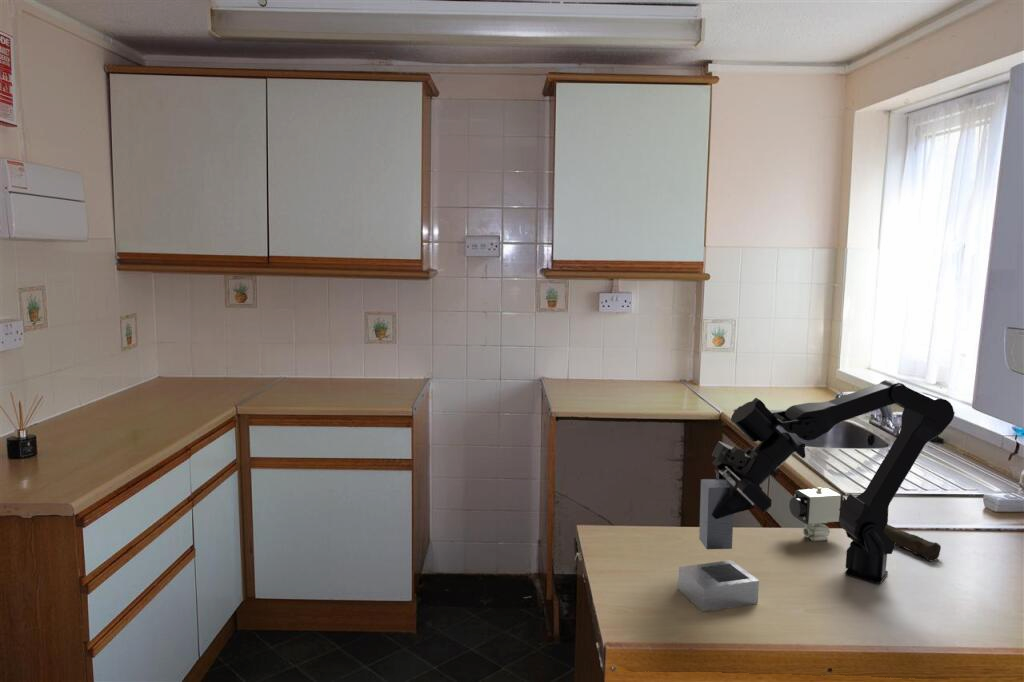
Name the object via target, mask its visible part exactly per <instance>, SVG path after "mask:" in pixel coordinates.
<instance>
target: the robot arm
mask: <svg viewBox="0 0 1024 682" xmlns="http://www.w3.org/2000/svg"><path fill="white" fill-rule="evenodd" d="M892 405H897V406H898V407H901V408H903V411H902V413H901V420H900V424H901V425H900V432H899V433H898V435H897V437H896V438H895V440H894V442H893V443H892V445H891V446H890V448H889V450H888V452H887V453H886V454H885V456H884V458H883V460H882V462H881V463H880V465H879V467H878V468H877V470H876V471H875V473H874V475H873V477H872V479H871V480H870V481H869V484H867V487H866V489H865V490H864V491H863V492H862V493H860V494H859V495H857V496H854V495H853V494H852V493H849V494H848V496H847V497H846V498H845V499H846V502H845V504H844V505H843V506H842V507H841V508H840V509H839V511H841V513H840V516H839V524H840V527H841V528H842V529H843V530H844V531H845V533H846V536H847V537H848V539H850V540H852V541H851V542H849V543H850V544H849V546H848V548H847V549H846V558H845V569H846V571H845V573H844V574H845V575H846V576H849V577H853V578H857V579H858V580H859V579H860V580H864V581H867V582H871V583H874V584H876V585H881V584H882V582H883V581H884V580H885V578H886V577H887V576H888V573H889V571H888V570H887V561H888V555H892V553H893V552H894V549H895V547H896V544H895V543H894V542H893V541H892V540H891V539H890V538H889V537H888V536H887V535H886V534H885V533H884V530H885V528H886V525H887V524H888V523H889V508H890V507H889V506H890V504H891V502H892V501H893V499H894V497H895V496H896V494H897V493H898V491H899V489H900V487H901V485H902V484H903V483H904V481H905V479H906V477H907V475H908V474H909V472H910V470H911V469H912V467H913V466H914V465H915V462H916V461H917V459H918V458H919V456H920V454H921V452H922V451H923V449H924V448H925V446H926V444H928V442H931V441H932V440H933V439H935V438H937V437H938V436H940V435H941V434H942V433H944V431H945V430H946V429H947V428H948V426H949V425H950V424H951V423H952V421H953V420H954V417H955V412H956V411H955V410H954V406H953V405H952V404H951V402H950V401H949V400H947V399H944V398H941V397H938V396H936V395H933V394H930V393H927V392H919V391H916V390H914V389H911V388H909V386H908V387H907V386H906V385H905V384H903V383H901V382H900V381H895V380H892V379H885V380H883V381H881V382H880V383H877V384H875V385H872V386H871V385H870V386H869V387H865V388H862V389H859V390H857V391H854V392H851V393H847V394H845V395H842V396H840V397H837V398H834V399H830V400H828V401H827V400H826V401H822V402H806V403H800V404H794V405H791V406H789V407H787V409H786V410H781V411H774V412H772V411H770V410H769V409H768V407H766V404H765V403H764V401H762V400H761V399H759V398H758V397H754V398H753V400H752V401H748V402H746V403H744V404H743V405H741V406H740V405H739V406H738V407H737V408H736V409H735V410H734V411H733V414H732V415H731V417H730V420H731V422H732V423H733V425H734V426H736V428H737V429H739V430H740V432H741V433H742V434H744V436H745V437H746V438H748V439H749V440H750V442H759V443H758V444H757V445H756V446H754V447H753V449H752V448H751V447H746V448H745V449H741V448H739V447H737V446H732V445H729V444H726V443H724V442H723V441H720V440H719V441H718V442H717V444H716V446H715V447H714V449H713V452H712V454H711V457H715V459H714V460H713V461H712V462H711V463H712V464H713V465H714V466H715V467H716V468H717V469H716V468H715V470H714V472H715V477H716V478H715V479H726V480H727V481H728V482H729V483H730V488H729V494H728V496H727V497H726V498H725V499H724V500H723V502H722V503H721V504H720V505H719V506H718V508H717V509H716V510H715V512H714V513H713V514H712V516H713V517H714V518H715V519H719V518H722V517H725V516H728V515H731V514H733V515H734V514H736V513H741V512H745V511H750V510H756V509H757V508H758V509H759V510H760V511H761V512H762V513H763V514H765V513H767V511H768V510H769V509H770V508H771V507H772V498H770V496H768V495H767V494H766V493H765V492H764V490H763V487H761V486H760V485H762V484H763V483H764V482H765V481H766V480H767V479H768V478H769V477H770V476H772V477H773V478H776V477H777V475H778V474H779V473H778V472H777V470H778V468H779V467H781V465H783V464H784V463H785V462H786V461H787V460H788V459H789V458H790V457H791V456H792V455H793V454H794V453H795V454H796V455H797V456H799V457H800V458H801V459H805V458H806V449H805V448H806V443H804V442H802V441H798V440H796V439H794V438H793V436H792V435H791V434H793V435H794V436H796V437H798V438H799V439H801V440H804V441H808V442H809V441H814V440H816V439H819V438H820V437H822V436H824V435H825V434H827V433H829V432H830V431H831V430H832V429H833V428H834V427H835V426H837V425H838V424H840V423H842V422H845V421H849V420H851V419H854V418H857V417H860V416H862V415H866V414H868V413H871V412H874V411H876V410H877V411H878V410H879V409H883V408H887V407H889V406H892ZM777 427H779V428H781V429H782V430H784V431H785V432H781V431H780V430H779V428H777ZM755 506H756V507H757V508H756V507H755Z"/></svg>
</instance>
